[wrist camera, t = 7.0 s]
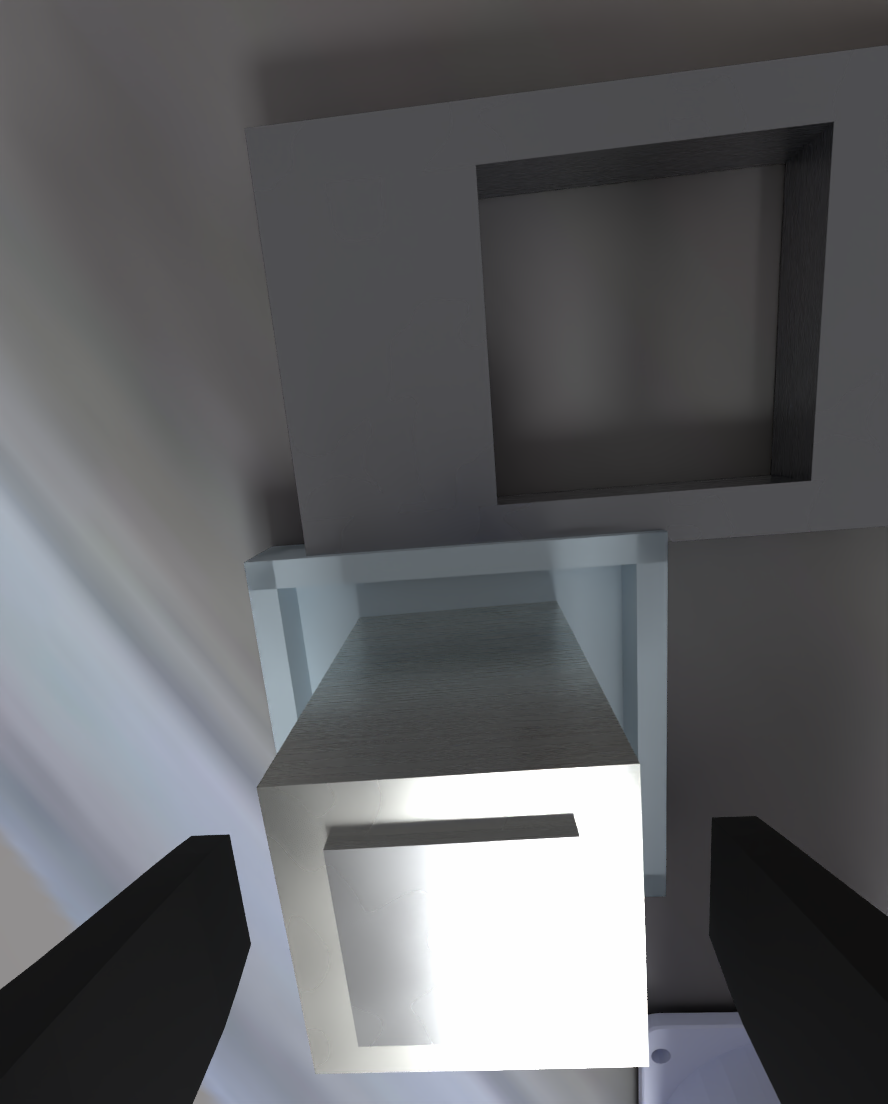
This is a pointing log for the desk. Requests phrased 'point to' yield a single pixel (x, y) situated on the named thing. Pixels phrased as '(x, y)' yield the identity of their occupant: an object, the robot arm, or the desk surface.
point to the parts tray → (481, 581)
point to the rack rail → (459, 308)
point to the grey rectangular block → (462, 851)
